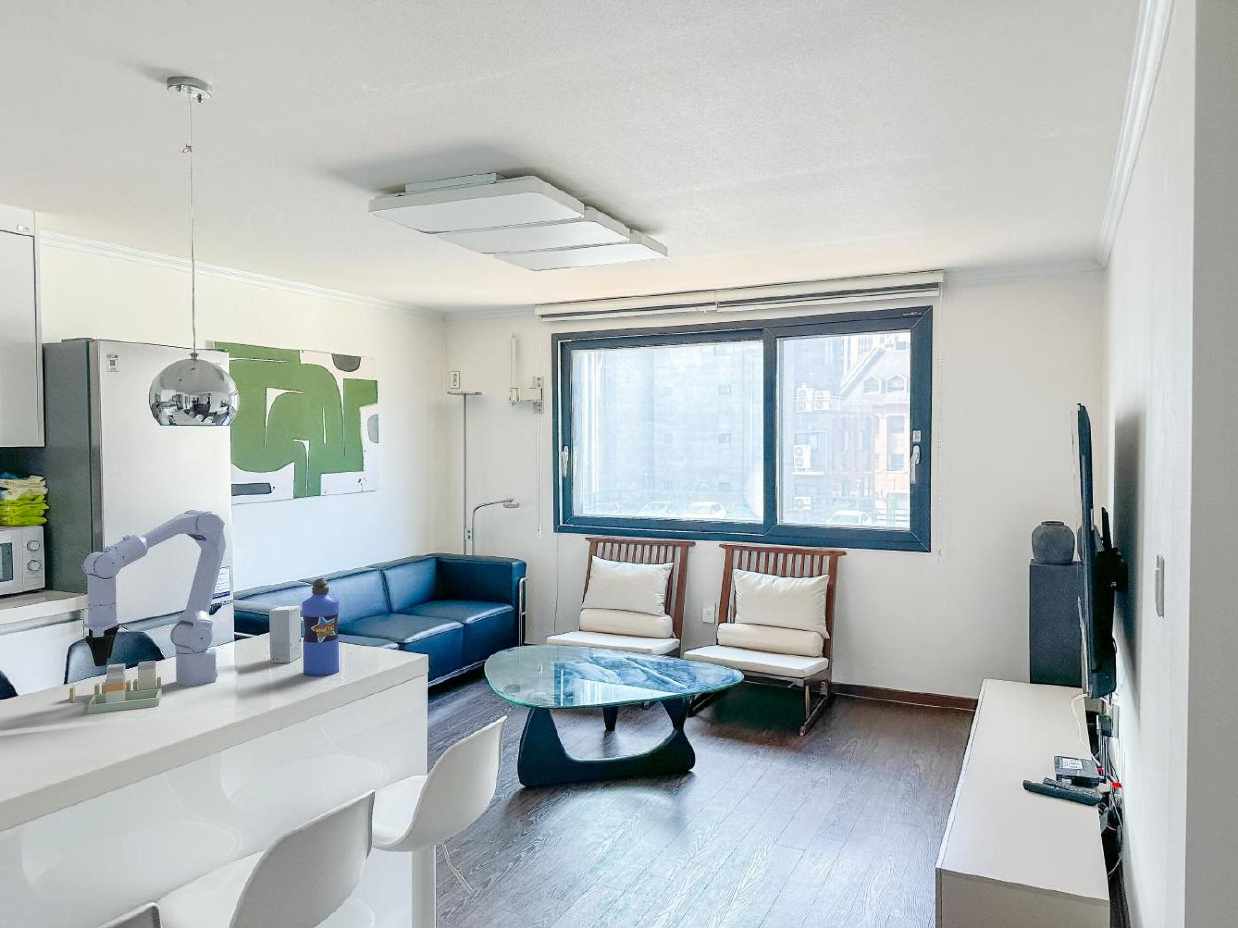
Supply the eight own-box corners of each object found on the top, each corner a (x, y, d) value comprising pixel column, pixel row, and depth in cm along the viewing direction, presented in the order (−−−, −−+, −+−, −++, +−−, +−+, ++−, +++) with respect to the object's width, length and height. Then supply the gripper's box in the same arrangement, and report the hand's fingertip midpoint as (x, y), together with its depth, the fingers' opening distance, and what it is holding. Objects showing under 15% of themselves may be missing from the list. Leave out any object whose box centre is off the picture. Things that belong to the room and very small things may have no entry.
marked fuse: (125, 704, 203) (124, 674, 203) (123, 708, 200) (123, 677, 200) (107, 706, 201) (107, 675, 201) (105, 710, 198) (105, 679, 198)
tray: (161, 699, 208) (161, 688, 208) (158, 709, 200) (158, 698, 200) (93, 706, 203) (93, 695, 203) (87, 717, 194) (87, 705, 194)
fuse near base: (156, 689, 214) (155, 660, 214) (154, 692, 211) (154, 663, 210) (139, 690, 212) (139, 662, 212) (138, 694, 209) (137, 665, 209)
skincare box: (290, 663, 243) (289, 610, 243) (268, 663, 243) (268, 610, 243) (302, 656, 251) (301, 604, 251) (281, 656, 252) (281, 604, 251)
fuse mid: (125, 692, 211) (125, 663, 211) (124, 695, 208) (123, 666, 208) (108, 693, 210) (108, 664, 210) (106, 697, 207) (106, 668, 206)
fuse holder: (164, 691, 216) (164, 674, 216) (162, 697, 210) (162, 680, 210) (69, 700, 208) (69, 683, 208) (65, 707, 202) (65, 690, 202)
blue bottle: (344, 673, 232) (343, 579, 231) (308, 678, 227) (307, 582, 226) (333, 666, 240) (332, 575, 239) (298, 671, 234) (297, 578, 234)
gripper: (87, 600, 208) (88, 656, 208) (76, 610, 195) (77, 671, 195) (121, 598, 211) (122, 654, 211) (113, 607, 198) (114, 667, 198)
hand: (103, 662), depth 203 cm, fingers open, 7 cm apart
